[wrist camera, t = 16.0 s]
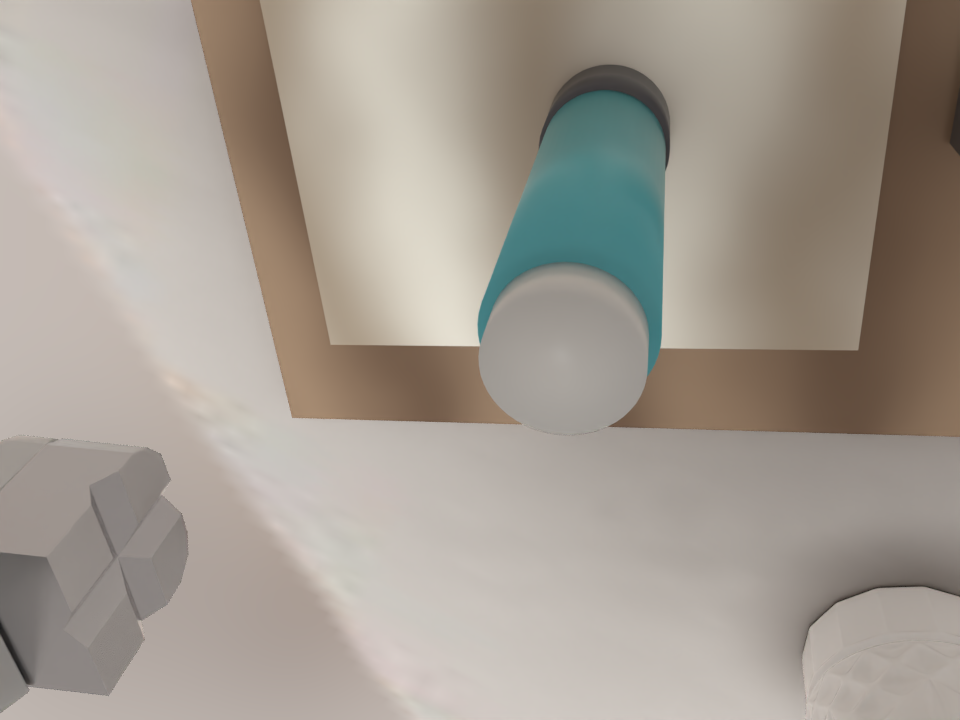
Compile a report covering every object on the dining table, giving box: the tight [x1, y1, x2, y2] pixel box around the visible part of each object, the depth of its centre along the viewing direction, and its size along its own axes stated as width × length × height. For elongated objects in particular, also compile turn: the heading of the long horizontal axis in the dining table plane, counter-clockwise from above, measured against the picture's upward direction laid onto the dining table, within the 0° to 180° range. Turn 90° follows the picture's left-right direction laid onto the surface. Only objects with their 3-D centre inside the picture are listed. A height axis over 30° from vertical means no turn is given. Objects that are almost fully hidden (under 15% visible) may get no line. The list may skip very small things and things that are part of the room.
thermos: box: [477, 65, 670, 435], centre depth 19 cm, size 3×3×12 cm
